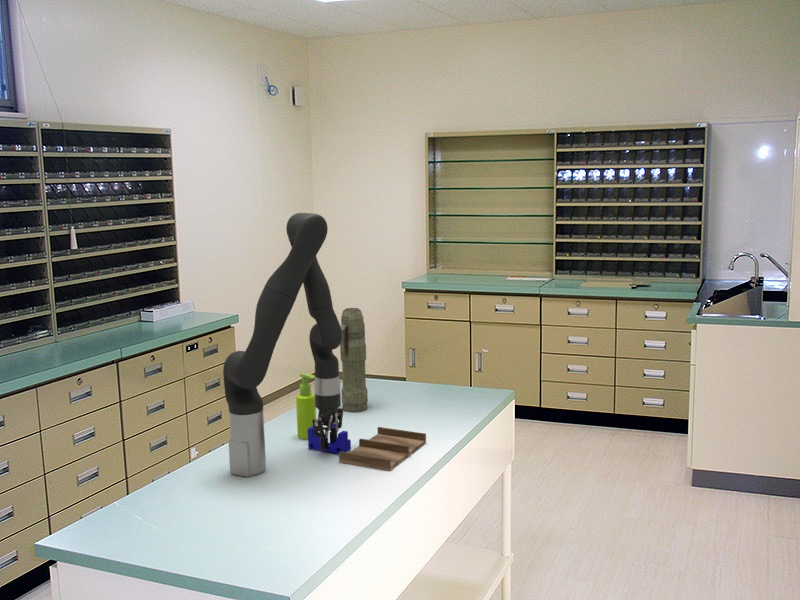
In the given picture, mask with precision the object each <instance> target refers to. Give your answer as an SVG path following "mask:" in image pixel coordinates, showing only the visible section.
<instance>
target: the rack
mask: <svg viewBox="0 0 800 600" xmlns="http://www.w3.org/2000/svg"><path fill="white" fill-rule="evenodd" d="M425 444H427V433H426V432H425V433H424V432H418V431H410V430H409V431H408V430H403V429H397V428H396V429H395V428H390V427H389V428H388V427H382V426H378V427H377V434H375V435H374V436H372V437H371V438H369V439H366V438H365V439H364V438H359V439H358V446H356V447H355V448H354V449H351V450H350V451H348V452H342V451H340V452H339V454H338V459H339V461H338V462H339V463H342V464H347V465H348V464H349V465H354V466H358V467H363V468H364V467H366V468H370V469H377V470H382V471H387V472H388V471H389V472H391V471H392V470H393V469H394V468H396V467H397V466H398V465H400V464H401V463H402V462H403V461H405V460H406V459H407V458H409V457H410V456H412V455H413V454H414V453H415V452H416V451H418V450H419V449H420V448H422V447H423V446H424V445H425Z"/></svg>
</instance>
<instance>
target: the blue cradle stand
mask: <svg viewBox="0 0 800 600" xmlns="http://www.w3.org/2000/svg"><path fill="white" fill-rule="evenodd" d="M307 442H308V443H307V445H308V449H310V450H316V451H321V452H327V453H333V454H338V455H339V452H340V451H342V452H348V453H349V452H350V451H352V442H351V438H350V439H349V432H348V431H347V430H342V431H340V432H337V441H336V442H332V443H330V442H328V450H321V446H320V438H319V437H316V436H315V432H314V427H313V426H312V427H310V428H309V429H308V439H307Z"/></svg>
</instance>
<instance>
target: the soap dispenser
mask: <svg viewBox="0 0 800 600" xmlns="http://www.w3.org/2000/svg"><path fill="white" fill-rule="evenodd" d="M299 377H300V378H301V381H302V382H301V383H300V384H299V394H297V395H296V396H295V402H296V403H295V405H296V425H297V426H296V427H297V428H296V429H297V438H298V439H300V440H307V441H308V429H309V428H310V427H312V426H313V422H312V421H313V419H317V411H316V409H317V408H316V407H315V393H312V387H311V386H312V384H311V383H309V379H310V380H312V379H313V380H314V379H315V374H311V373H307V372H306V373H300V374H299Z"/></svg>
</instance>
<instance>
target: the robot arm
mask: <svg viewBox="0 0 800 600" xmlns="http://www.w3.org/2000/svg"><path fill="white" fill-rule="evenodd" d="M327 223H328V222H327V221H326V219H325V218H324V217H323V215H320V214H318V213H312V212H311V213H309V212H308V213H307V212H297V213H294V214H293V215H291V216H290V218H289V219H287V222H286V234H287V238H288V241H289V244H290V246H291V249H290V252H289V253H288V255H287V256H286V258H285V259H284V260H283V262H282V263H281V264H280V265H279V266H278V267H277V269H276V270H275V271H273V273H272V274H271V275H270V277H269V278H268V279H267V281H266V283H265V284H264V287H263V289H262V291H261V293H260V295H259V297H258V299H257V300H258V301H257V303H256V306H255V307H256V308H255V314H254V315H255V316H254V326H253V333H252V336H251V338H250V341H249V343H248V344H247V347H246V349H245V351H244V350H236V351H234V352H231V353H230V354H228V356H227V357H226V359H225V361H224V363H223V367H222V368H223V372H222V373H223V386H224V395H225V400H226V404H227V406H228V417H229V433H230V434H229V436H230V439H229V440H228V458H229V459H228V460H229V472H230V473H229V474H230V475H236V476H241V477H245V478H249V477H251V476H255V475H256V476H257V475H260V474H261V473H264V472H265V471H266V470H267V460H266V458H267V457H266V455H267V454H266V441H265V440H266V438H265V437H266V436H265V435H266V434H265V419H264V418H265V415H264V400H263V398H262V397H261V395H260V394H259V392H258V388H257V387H258V386H259V385H260V384H261V383H262V382H263V381H264V379H265V377H266V375H267V372H268V369H269V367H270V363H271V359H272V356H273V354H274V350H275V348H276V344H277V342H278V340H279V338H280V335H281V334H282V331H283V329H284V326H285V325H286V322H287V320H288V317H289V315H290V313H291V311H292V309H293V307H294V304H295V302H296V300H297V297H298V295H299V292H300V289H301V288H302V286H303V288H304V289H303V290H304V292H305V299H306V304H307V309H308V310H307V311H308V313H309V316H311V318H313V319H314V320H315V322H316V323H315V324H314V325H312V327H311V329H310V330H309V336H308V337H309V344H310V349H311V354H312V357H313V361H314V376H315V378H314V385H313V386H314V387H313V388H314V395H315V407H316V409H317V410H318V415H317V417H316V419H313V421H312V422H313V427H314V432H315V436H316V437H319V438H320V446H321V450H328V443H332V442H336V441H337V438H338V433H339V430H340V429H342V426H343V418H344V417H343V415H344V410H343V408H342V407H341V403H342V394H341V381H340V380H341V379H340V364H339V363H340V362H339V359H338V357H337V356H336V355H335V354H334V353H333V350H336V349H337V348H340V344H341V341H342V330H341V323H340V322H339V319H338V317H337V315H336V312H335V310H334V306H333V301H332V299H333V298H332V294H331V289H330V285H329V283H328V281H327V278H326V276H325V274H324V272H323V270H322V268H321V266H320V264H319V263H320V262H319V260H318V258H317V255H318V253H319V251H320V250H321V248H322V247H323V245H324V242H325V241H326V239H327V235H328V231H329V230H328V228H329V227H328V224H327ZM329 431H330V432H329ZM321 450H320V451H321Z"/></svg>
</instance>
